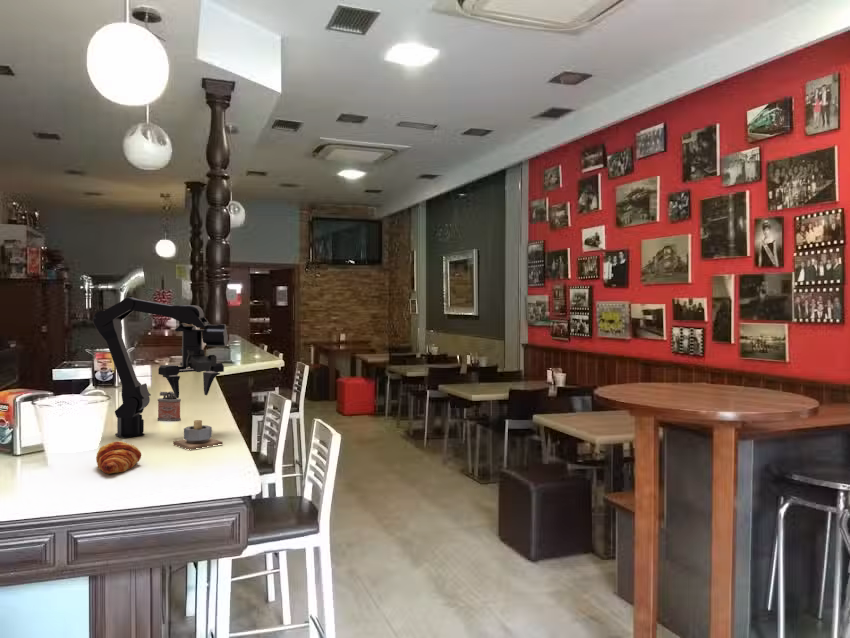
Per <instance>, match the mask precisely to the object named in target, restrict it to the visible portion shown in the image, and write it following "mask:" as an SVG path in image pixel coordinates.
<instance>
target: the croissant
mask: <svg viewBox="0 0 850 638" xmlns="http://www.w3.org/2000/svg"><path fill="white" fill-rule="evenodd" d="M141 458H142V452H141V450H140V449H139V448H138V447H137V446H136V445H134V444H132V443H131V444H130V443H127V442H125V441H112V442H109V443H107V444H105V445H103V446H101V447H100V448H99V449H98V451H97V453H96V458H95V459H96V464H97V467H98V469H99V470H100V471H102V472H103V473H104V474H108V475H111V474H118V473H124V472H126V471H128V470H130V469H132V468H133V467H134V466H135V465H136V464H138V463H139V461H140V460H141ZM127 469H128V470H127Z"/></svg>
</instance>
